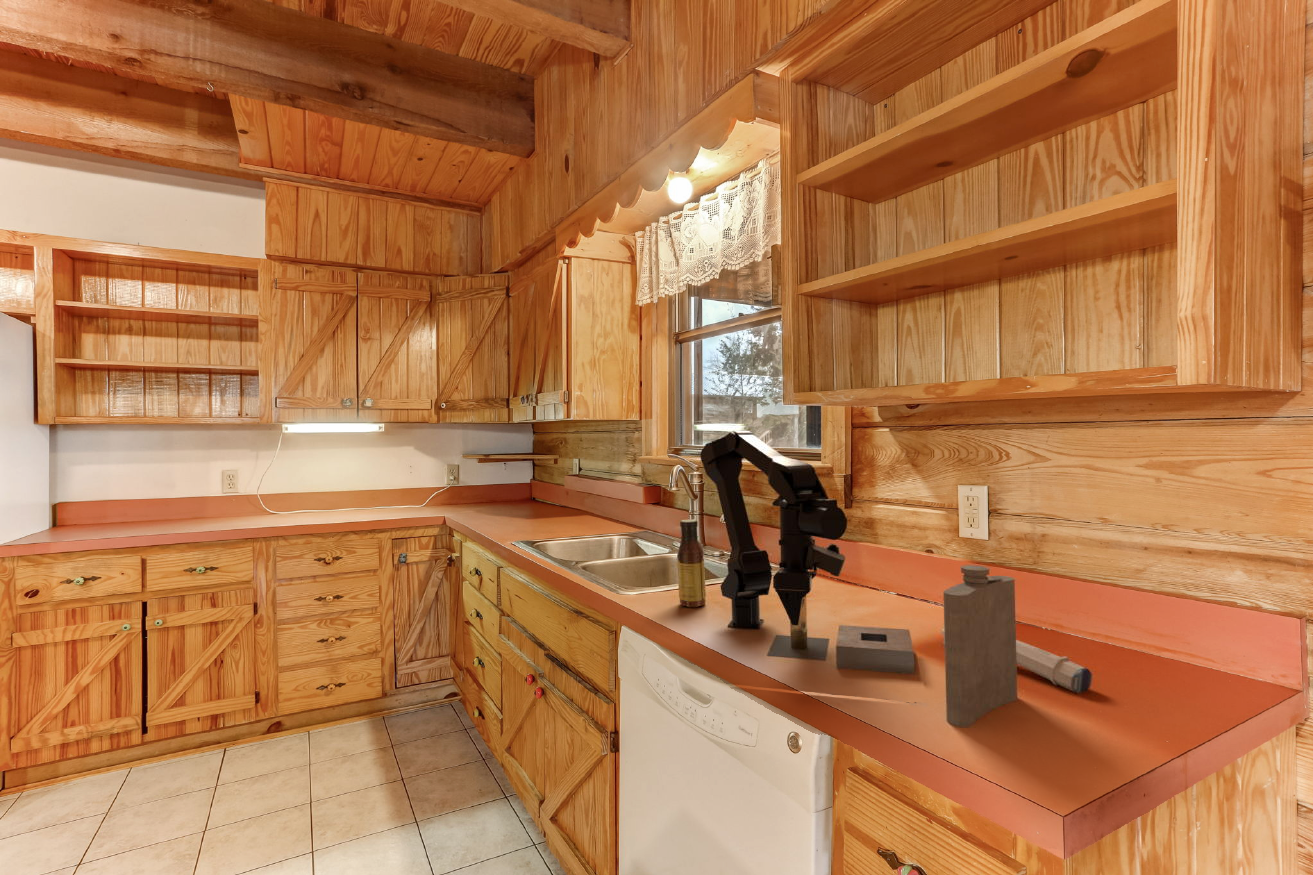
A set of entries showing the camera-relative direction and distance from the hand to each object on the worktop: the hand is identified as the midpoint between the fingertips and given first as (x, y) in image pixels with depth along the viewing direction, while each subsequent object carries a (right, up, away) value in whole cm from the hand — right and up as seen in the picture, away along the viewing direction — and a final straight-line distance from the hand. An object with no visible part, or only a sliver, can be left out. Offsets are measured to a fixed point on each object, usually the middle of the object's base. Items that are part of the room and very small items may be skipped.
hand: (798, 617), depth 117 cm
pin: (0, -5, 0) cm, 5 cm away
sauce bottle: (-18, -6, +32) cm, 37 cm away
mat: (0, -6, 0) cm, 6 cm away
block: (+12, -5, -7) cm, 15 cm away
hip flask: (+20, -6, -27) cm, 34 cm away
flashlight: (+33, -5, -11) cm, 35 cm away
